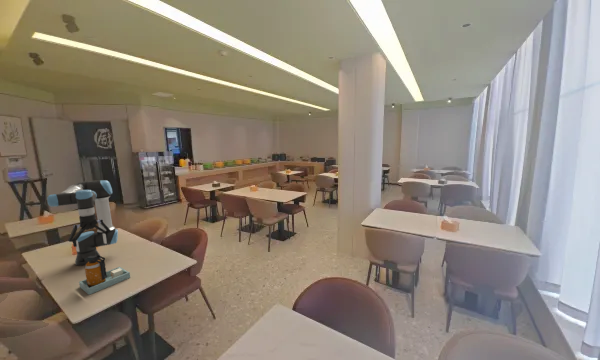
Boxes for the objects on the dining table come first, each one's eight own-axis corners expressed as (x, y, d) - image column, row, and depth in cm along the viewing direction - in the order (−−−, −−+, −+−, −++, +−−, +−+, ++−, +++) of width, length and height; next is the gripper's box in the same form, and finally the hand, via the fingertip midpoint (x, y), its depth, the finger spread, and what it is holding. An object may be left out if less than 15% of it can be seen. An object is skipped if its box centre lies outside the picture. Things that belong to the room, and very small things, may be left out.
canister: (95, 281, 155) (90, 253, 152) (112, 280, 156) (108, 252, 153) (83, 289, 146) (79, 259, 143) (102, 288, 147) (97, 258, 144)
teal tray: (80, 288, 149) (78, 281, 149) (120, 272, 168) (119, 266, 167) (89, 295, 141) (88, 289, 140) (130, 278, 159) (129, 272, 159)
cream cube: (111, 278, 159) (110, 271, 158) (120, 274, 163) (119, 268, 162) (114, 280, 156) (113, 273, 155) (123, 276, 160) (122, 269, 160)
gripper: (61, 221, 132) (67, 256, 135) (113, 210, 153) (118, 241, 156) (57, 219, 136) (63, 253, 139) (109, 209, 157) (113, 239, 160)
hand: (92, 247), depth 148 cm, fingers open, 13 cm apart
